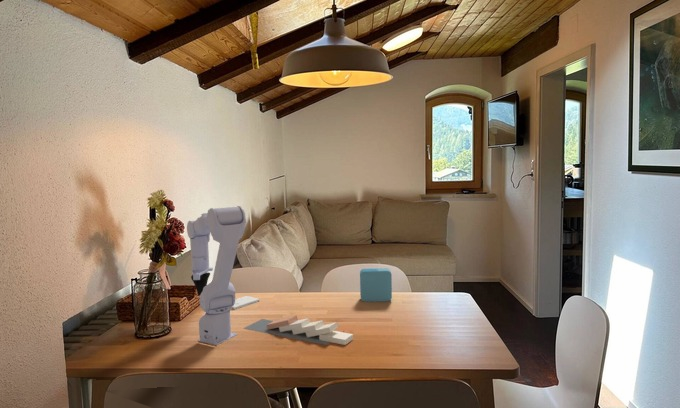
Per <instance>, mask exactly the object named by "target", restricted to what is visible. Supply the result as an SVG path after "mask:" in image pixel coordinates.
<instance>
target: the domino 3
mask: <svg viewBox="0 0 680 408" xmlns="http://www.w3.org/2000/svg"><path fill="white" fill-rule="evenodd" d="M324 325H325V322H324V320H323V319H322V320H318V321H312V322H311V323H309V324H308V325H306V326H304V327H303V328H298V329H293V330H292V332H293V335H295V334H300V333H305V332H310V331H315V330H317V329H319V328H320V327H322V326H324Z"/></svg>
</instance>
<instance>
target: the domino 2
mask: <svg viewBox="0 0 680 408" xmlns="http://www.w3.org/2000/svg"><path fill="white" fill-rule="evenodd" d="M309 323H312V322H311V319H310V317H307V318H302V319H298V320H297V321H295V322H294V323H292V324H290V325H287V326H283V327H279V330H280V332H283V331H288V330H293V329H298V328H303V327H304V326H306V325H308V324H309Z"/></svg>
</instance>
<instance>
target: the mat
mask: <svg viewBox="0 0 680 408" xmlns="http://www.w3.org/2000/svg"><path fill="white" fill-rule="evenodd" d="M273 321H274V320H270V319H264V318H262V319H259V320H257V321H255V322H253V323H252V324H249V325H247V326H245V327H244V328H243V329H245V330H250V331H255V332H259V333H264V334H270V335H273V336H278V337H284V338H287V339H288V338H289V339H292V340H293V339H294V340H299V341H303V342H308V343H314V344H319V345H323V346H328V345H329V344H331V343H332V342H327V341H322V340H319V335H317V336H312V337H307V335H306V332H305V333H300V334H295V335H293V332H292V330H288V331H283V332H280V330H279V327H278V328H273V329H269V330H268V328H267V324H269V323H271V322H273Z"/></svg>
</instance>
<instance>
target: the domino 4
mask: <svg viewBox="0 0 680 408" xmlns="http://www.w3.org/2000/svg"><path fill="white" fill-rule="evenodd" d="M339 327H340V326H339V324H338V322H336V321H335V322H332V323H331V322H330V323H327V324H324V326H322V327H320V328H319V329H317V330H315V331H310V332H306V335H307V337H312V336H317V335H321V334H326V333H330V332H332V331H336V330H337V329H338V328H339Z"/></svg>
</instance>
